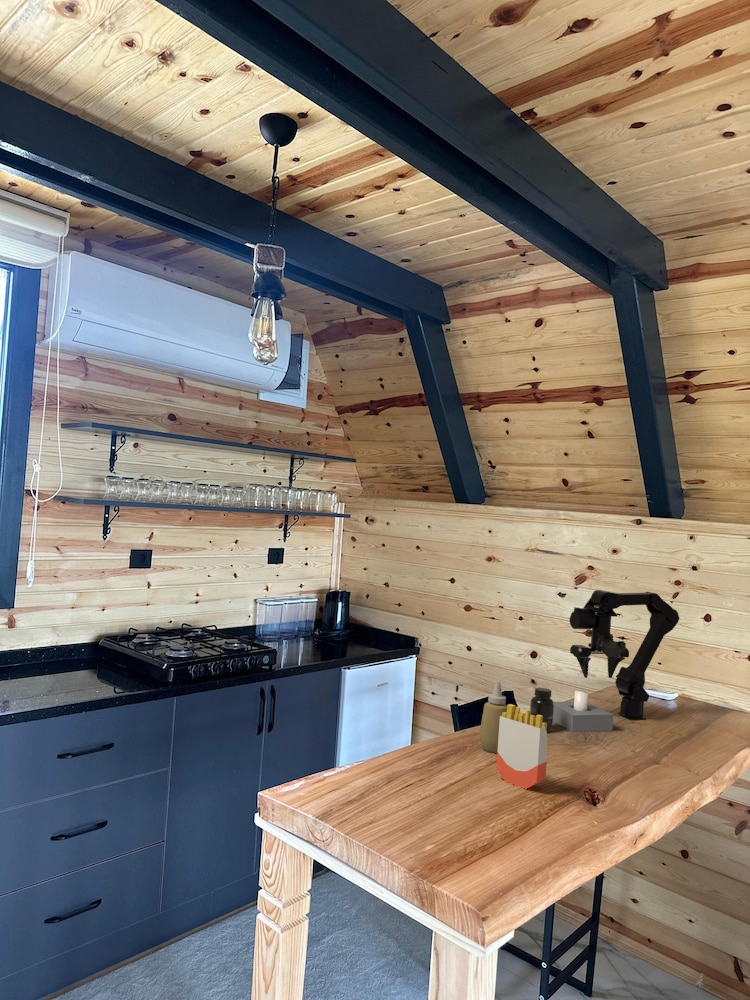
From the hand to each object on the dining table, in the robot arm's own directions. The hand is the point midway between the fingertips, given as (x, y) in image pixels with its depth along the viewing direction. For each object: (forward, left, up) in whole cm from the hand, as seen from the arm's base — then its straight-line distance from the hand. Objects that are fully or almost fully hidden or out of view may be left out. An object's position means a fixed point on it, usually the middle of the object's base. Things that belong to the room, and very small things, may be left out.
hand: (597, 677), depth 221 cm
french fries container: (+53, +47, -13) cm, 72 cm away
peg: (+10, +6, -13) cm, 17 cm away
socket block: (+10, +6, -13) cm, 17 cm away
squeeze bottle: (+49, +25, -13) cm, 57 cm away
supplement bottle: (+26, +10, -13) cm, 31 cm away
